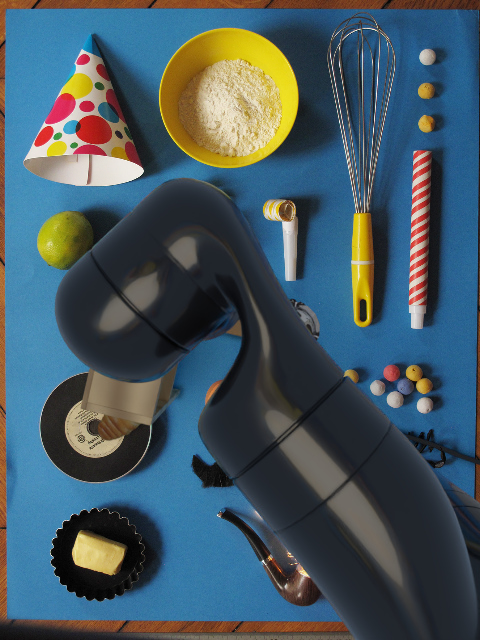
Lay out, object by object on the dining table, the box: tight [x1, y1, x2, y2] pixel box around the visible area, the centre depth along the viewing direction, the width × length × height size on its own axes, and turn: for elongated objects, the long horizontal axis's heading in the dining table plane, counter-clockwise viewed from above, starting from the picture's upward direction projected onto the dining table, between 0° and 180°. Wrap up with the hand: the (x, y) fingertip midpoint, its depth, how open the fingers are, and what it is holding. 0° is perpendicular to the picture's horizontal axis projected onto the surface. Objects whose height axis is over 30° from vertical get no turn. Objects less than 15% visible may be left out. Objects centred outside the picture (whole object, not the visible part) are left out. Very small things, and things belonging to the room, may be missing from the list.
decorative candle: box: [289, 298, 321, 341], centre depth 73 cm, size 9×9×25 cm
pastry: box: [97, 414, 143, 442], centre depth 84 cm, size 9×7×4 cm
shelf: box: [79, 363, 181, 427], centre depth 74 cm, size 11×15×24 cm
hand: (216, 304), depth 54 cm, fingers closed on block, 5 cm apart
